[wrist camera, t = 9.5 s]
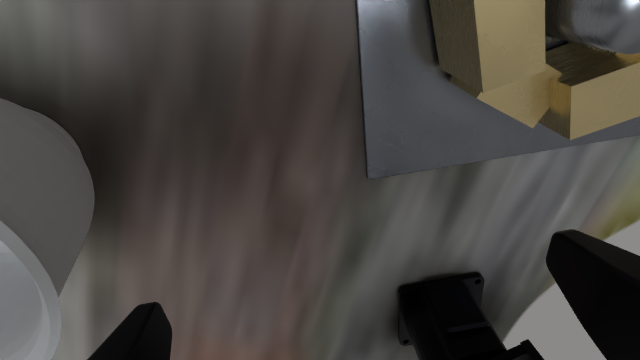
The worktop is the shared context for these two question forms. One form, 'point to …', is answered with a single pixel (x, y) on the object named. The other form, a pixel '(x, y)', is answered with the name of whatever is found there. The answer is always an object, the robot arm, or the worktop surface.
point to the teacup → (38, 228)
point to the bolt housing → (454, 103)
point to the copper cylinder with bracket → (533, 67)
